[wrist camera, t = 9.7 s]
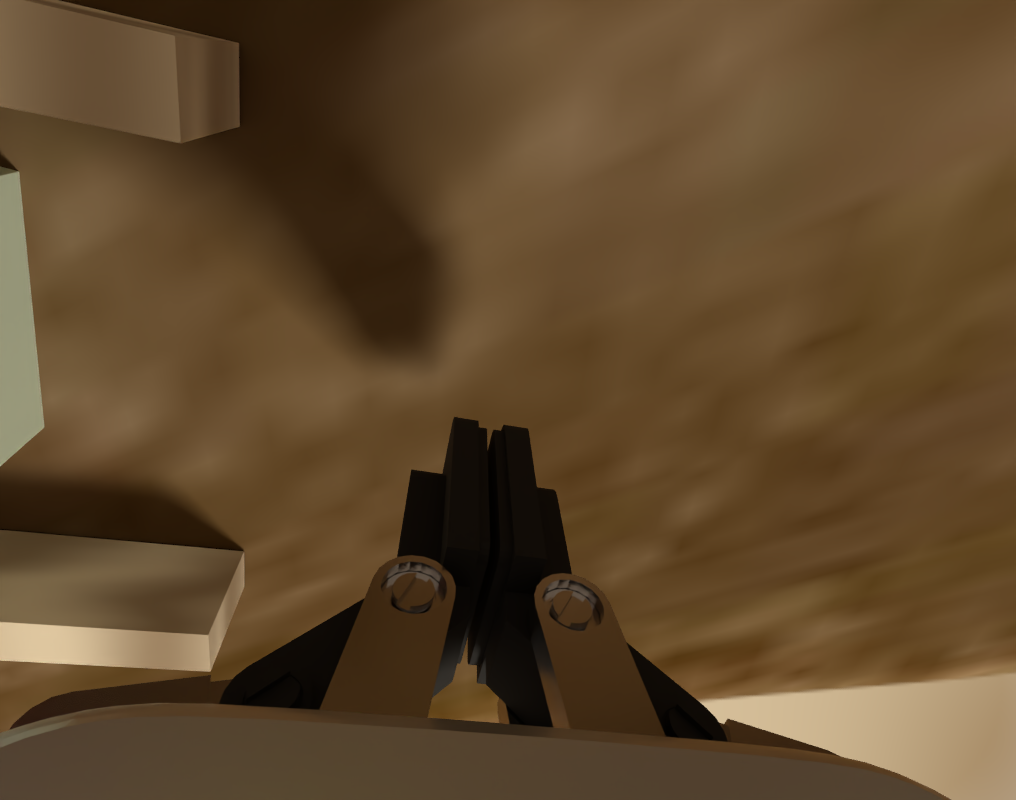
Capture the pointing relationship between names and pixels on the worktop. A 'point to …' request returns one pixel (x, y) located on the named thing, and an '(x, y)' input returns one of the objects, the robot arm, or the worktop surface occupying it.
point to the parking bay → (92, 561)
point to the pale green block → (16, 327)
